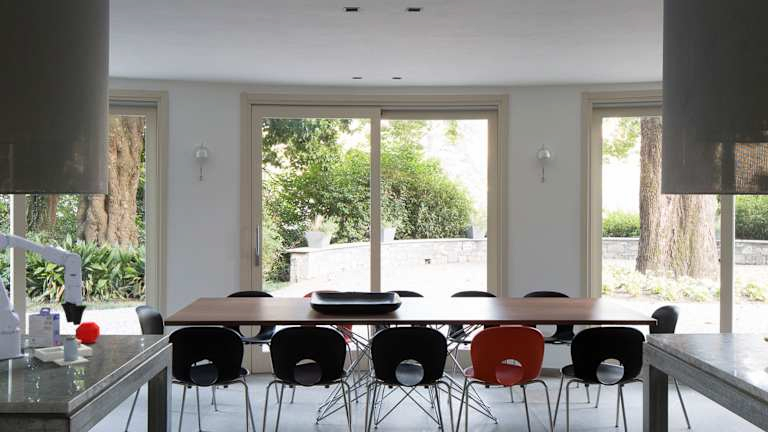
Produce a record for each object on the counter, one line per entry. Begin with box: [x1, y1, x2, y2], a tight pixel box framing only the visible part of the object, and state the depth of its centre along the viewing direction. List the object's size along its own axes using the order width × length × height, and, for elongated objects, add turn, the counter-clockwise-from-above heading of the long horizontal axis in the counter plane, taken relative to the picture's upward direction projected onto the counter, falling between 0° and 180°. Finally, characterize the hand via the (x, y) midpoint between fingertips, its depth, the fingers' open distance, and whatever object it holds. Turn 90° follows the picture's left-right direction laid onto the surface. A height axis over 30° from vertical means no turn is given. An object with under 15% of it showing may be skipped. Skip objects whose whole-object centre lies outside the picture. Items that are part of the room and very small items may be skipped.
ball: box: [75, 321, 101, 344], centre depth 282 cm, size 8×8×8 cm
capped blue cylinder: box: [63, 335, 78, 361], centre depth 246 cm, size 4×4×8 cm
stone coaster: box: [52, 356, 90, 367], centre depth 246 cm, size 9×9×1 cm
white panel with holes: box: [34, 343, 93, 363], centre depth 256 cm, size 16×12×2 cm
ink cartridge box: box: [27, 307, 61, 348], centre depth 274 cm, size 10×6×14 cm, turn 89°
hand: (73, 323), depth 263 cm, fingers open, 7 cm apart
